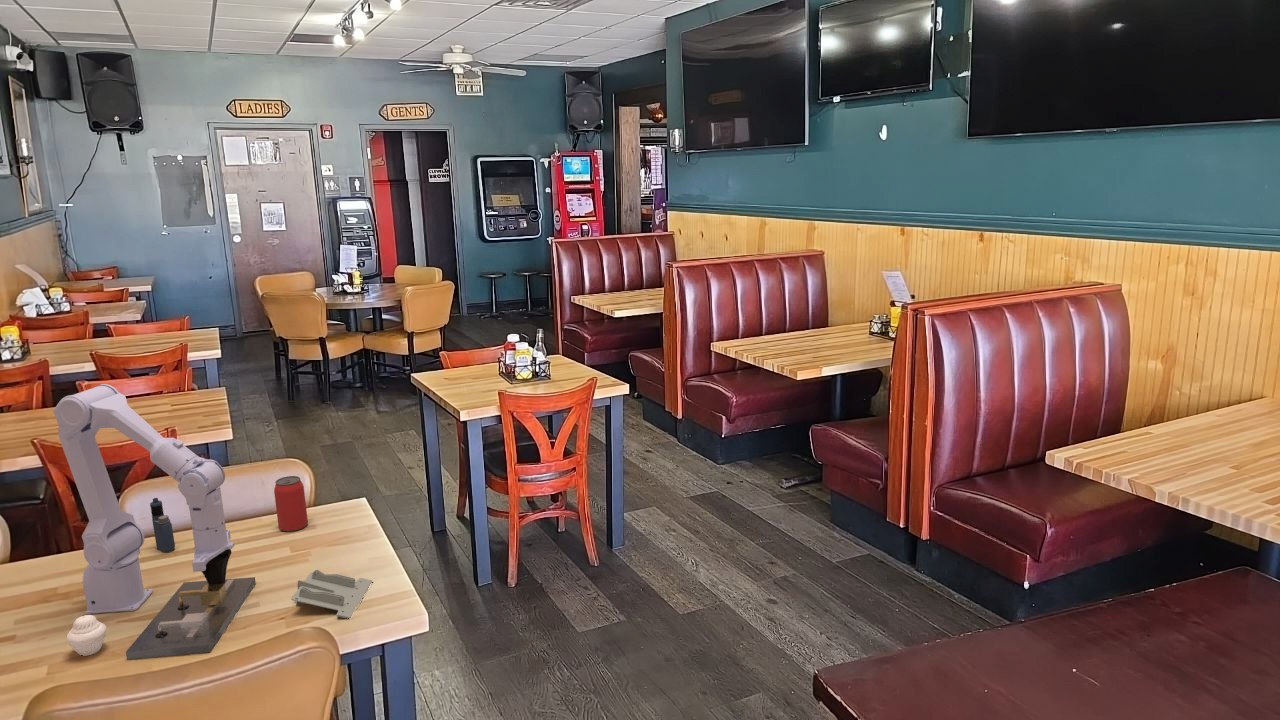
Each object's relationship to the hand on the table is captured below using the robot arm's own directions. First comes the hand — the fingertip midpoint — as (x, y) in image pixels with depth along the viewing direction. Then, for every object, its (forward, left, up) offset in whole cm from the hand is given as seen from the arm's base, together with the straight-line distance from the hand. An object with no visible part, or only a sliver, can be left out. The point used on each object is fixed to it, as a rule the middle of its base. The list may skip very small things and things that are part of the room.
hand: (217, 588), depth 167 cm
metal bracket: (+21, -1, -5) cm, 22 cm away
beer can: (+4, +38, -4) cm, 38 cm away
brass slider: (-2, -3, -2) cm, 4 cm away
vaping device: (-22, +30, -4) cm, 37 cm away
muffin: (-18, -13, -4) cm, 23 cm away
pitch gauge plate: (-3, -4, -4) cm, 6 cm away
